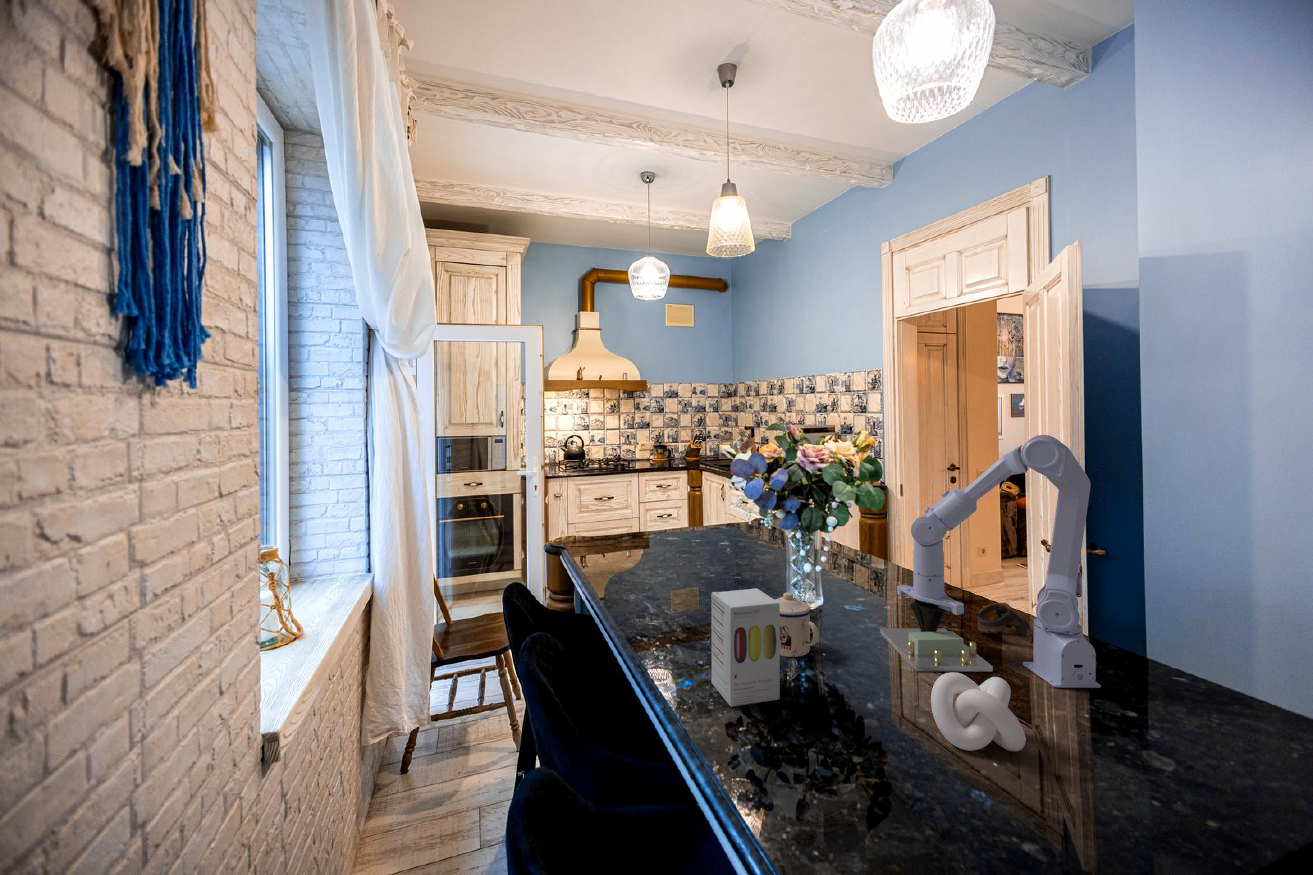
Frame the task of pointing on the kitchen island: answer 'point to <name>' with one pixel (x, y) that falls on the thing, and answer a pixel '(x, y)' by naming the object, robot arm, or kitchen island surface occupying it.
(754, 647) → the supplement box
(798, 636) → the teacup with lid
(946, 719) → the white decorative knot
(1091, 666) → the robot arm
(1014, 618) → the pottery mug
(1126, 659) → the kitchen island surface
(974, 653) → the chassis
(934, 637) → the pale green block
